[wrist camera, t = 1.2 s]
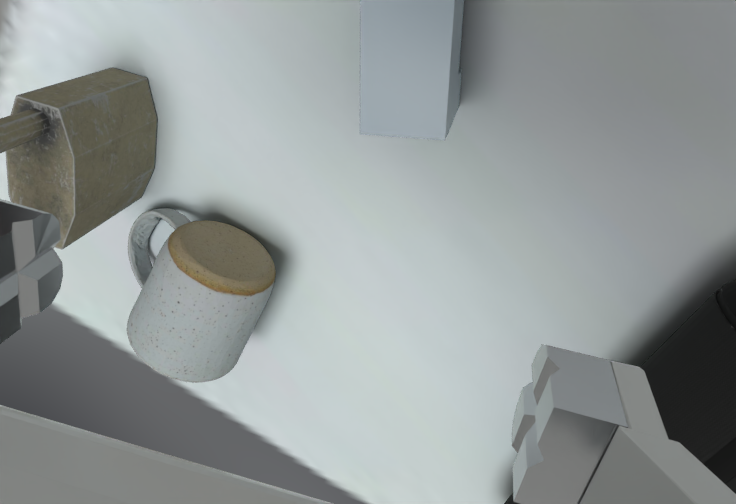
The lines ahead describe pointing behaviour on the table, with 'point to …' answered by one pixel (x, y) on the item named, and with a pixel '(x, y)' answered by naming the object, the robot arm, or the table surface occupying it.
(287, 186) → the table surface
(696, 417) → the portable speaker
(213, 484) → the robot arm
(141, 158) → the padlock
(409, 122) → the block
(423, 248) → the table surface
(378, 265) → the table surface
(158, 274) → the ceramic mug
